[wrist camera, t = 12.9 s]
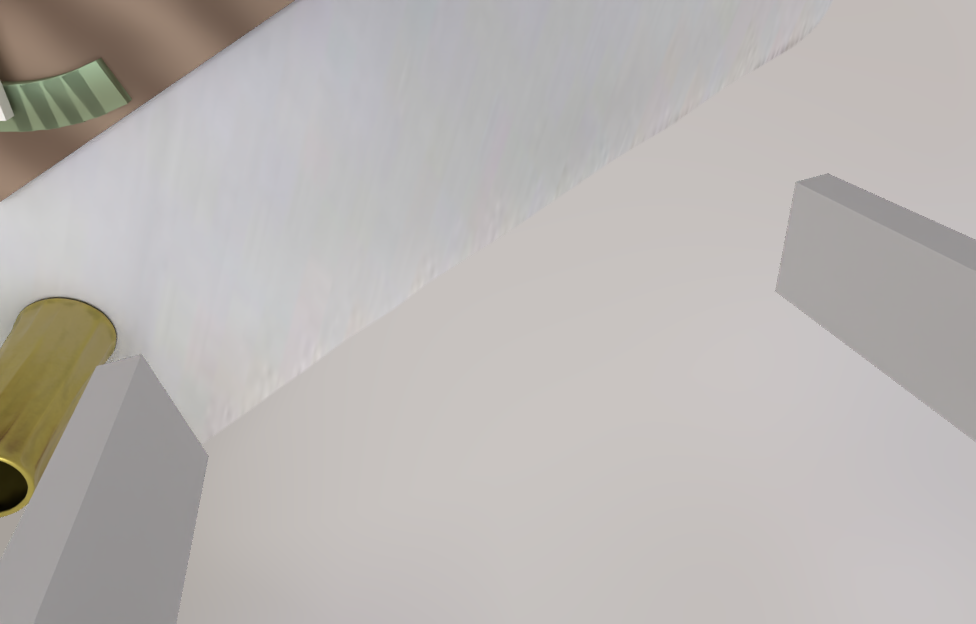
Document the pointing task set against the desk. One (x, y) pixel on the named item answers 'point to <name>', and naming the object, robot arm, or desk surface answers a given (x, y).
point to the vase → (44, 387)
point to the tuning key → (4, 106)
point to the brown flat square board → (99, 66)
